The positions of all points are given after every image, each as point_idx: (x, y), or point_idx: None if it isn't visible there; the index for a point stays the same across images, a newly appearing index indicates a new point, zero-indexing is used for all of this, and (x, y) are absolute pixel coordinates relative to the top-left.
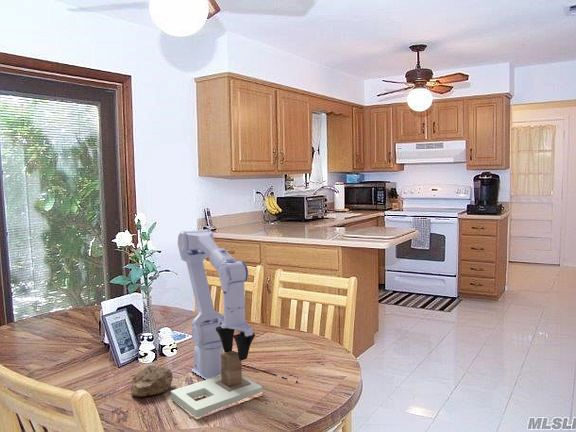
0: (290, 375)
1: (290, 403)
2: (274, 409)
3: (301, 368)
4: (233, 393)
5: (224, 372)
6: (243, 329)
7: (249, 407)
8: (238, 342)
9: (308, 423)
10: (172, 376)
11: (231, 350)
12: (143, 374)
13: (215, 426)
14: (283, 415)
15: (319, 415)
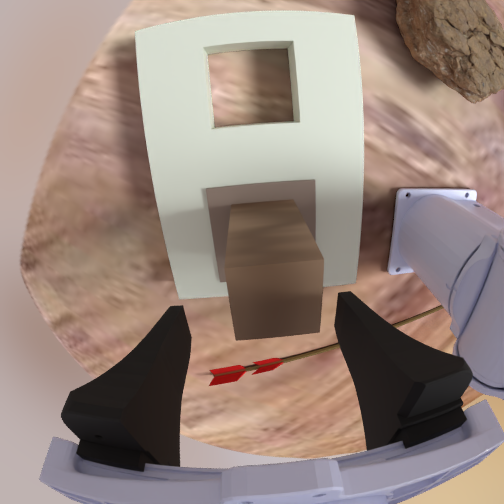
0: (232, 380)
1: (112, 311)
2: (96, 266)
3: (276, 404)
4: (180, 196)
5: (272, 220)
6: (64, 481)
7: (133, 215)
8: (99, 382)
9: (28, 287)
10: (454, 89)
11: (335, 326)
12: (476, 7)
13: (83, 83)
14: (64, 267)
15: (51, 320)
